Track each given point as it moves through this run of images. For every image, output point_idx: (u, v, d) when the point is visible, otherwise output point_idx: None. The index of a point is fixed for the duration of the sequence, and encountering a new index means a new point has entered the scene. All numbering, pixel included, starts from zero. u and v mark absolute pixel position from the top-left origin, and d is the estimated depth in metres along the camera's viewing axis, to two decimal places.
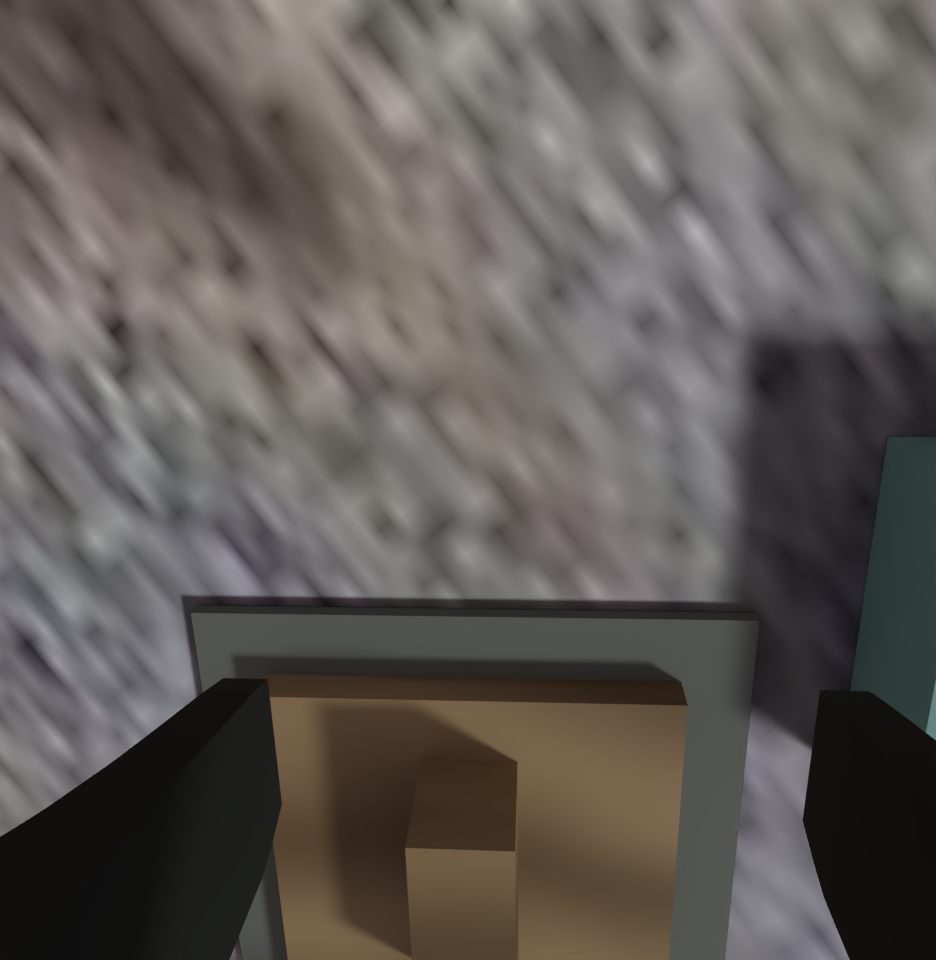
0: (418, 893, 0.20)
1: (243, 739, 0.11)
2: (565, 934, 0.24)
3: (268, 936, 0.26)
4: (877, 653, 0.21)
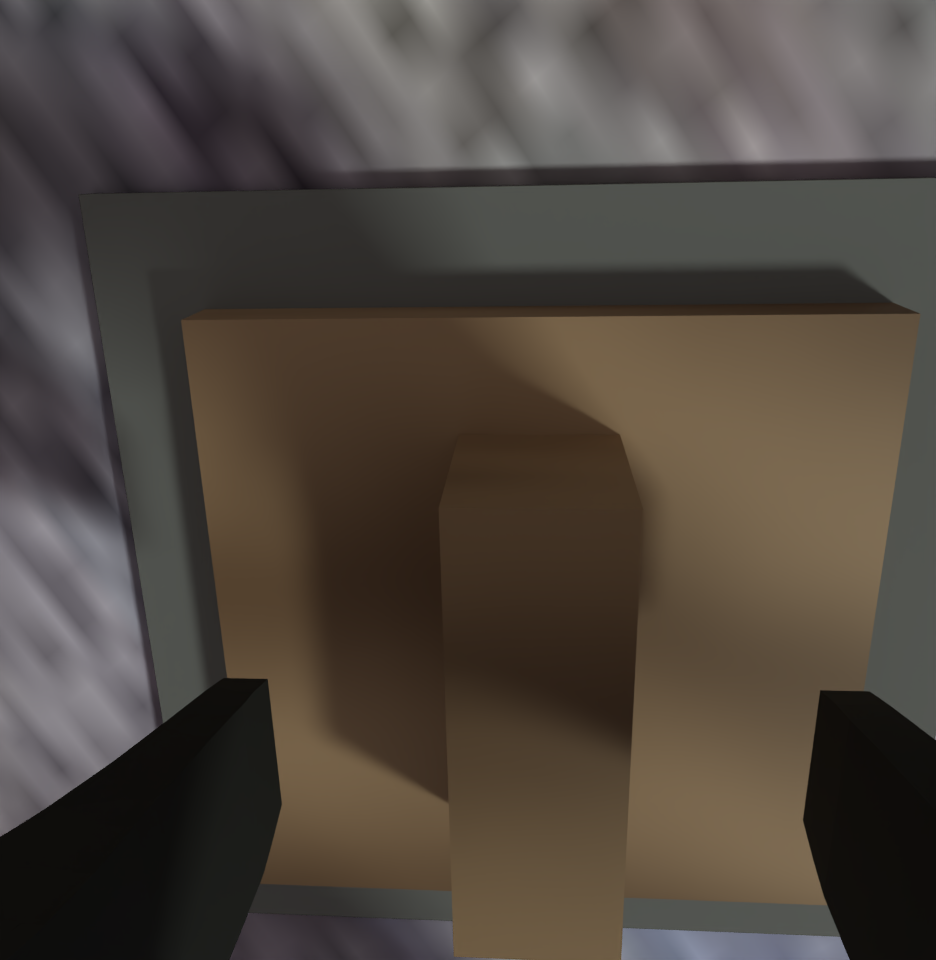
0: (461, 604, 0.11)
1: (243, 739, 0.11)
2: (683, 752, 0.15)
3: None
4: None
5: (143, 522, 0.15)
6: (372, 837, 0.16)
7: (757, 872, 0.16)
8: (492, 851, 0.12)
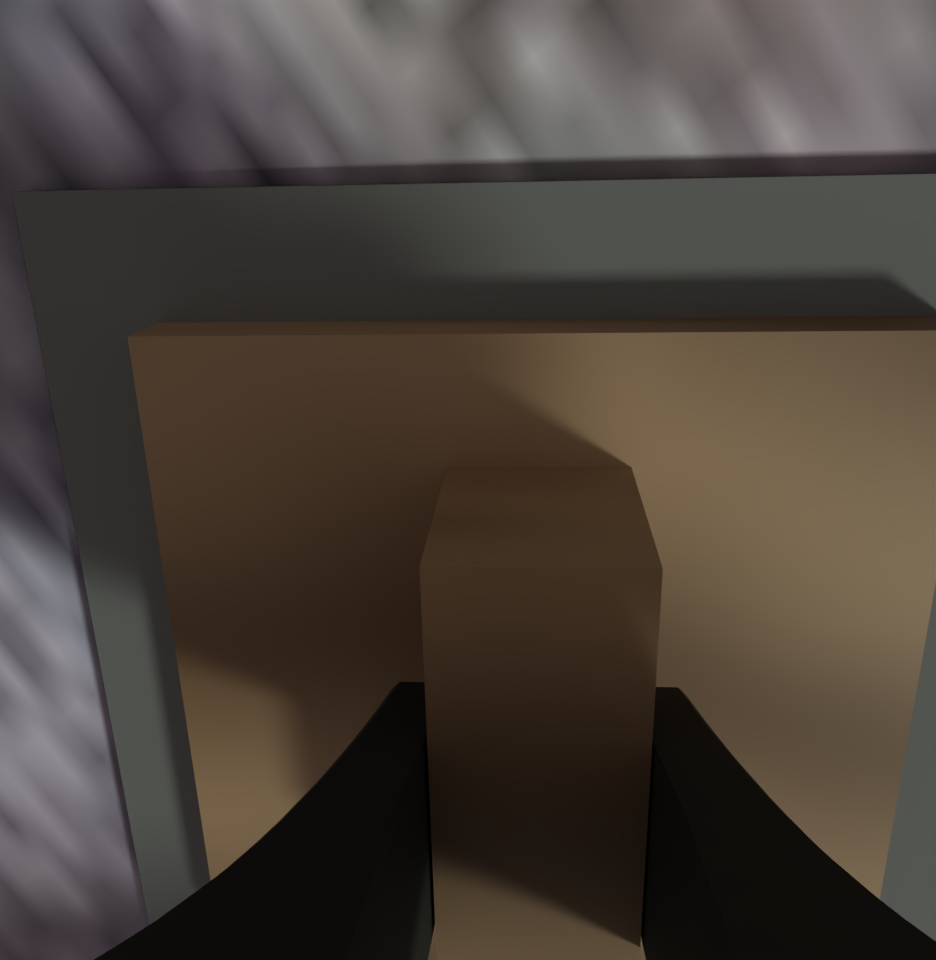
0: (447, 676, 0.09)
1: None
2: None
3: (182, 837, 0.15)
4: None
5: (94, 560, 0.14)
6: None
7: None
8: (484, 951, 0.11)
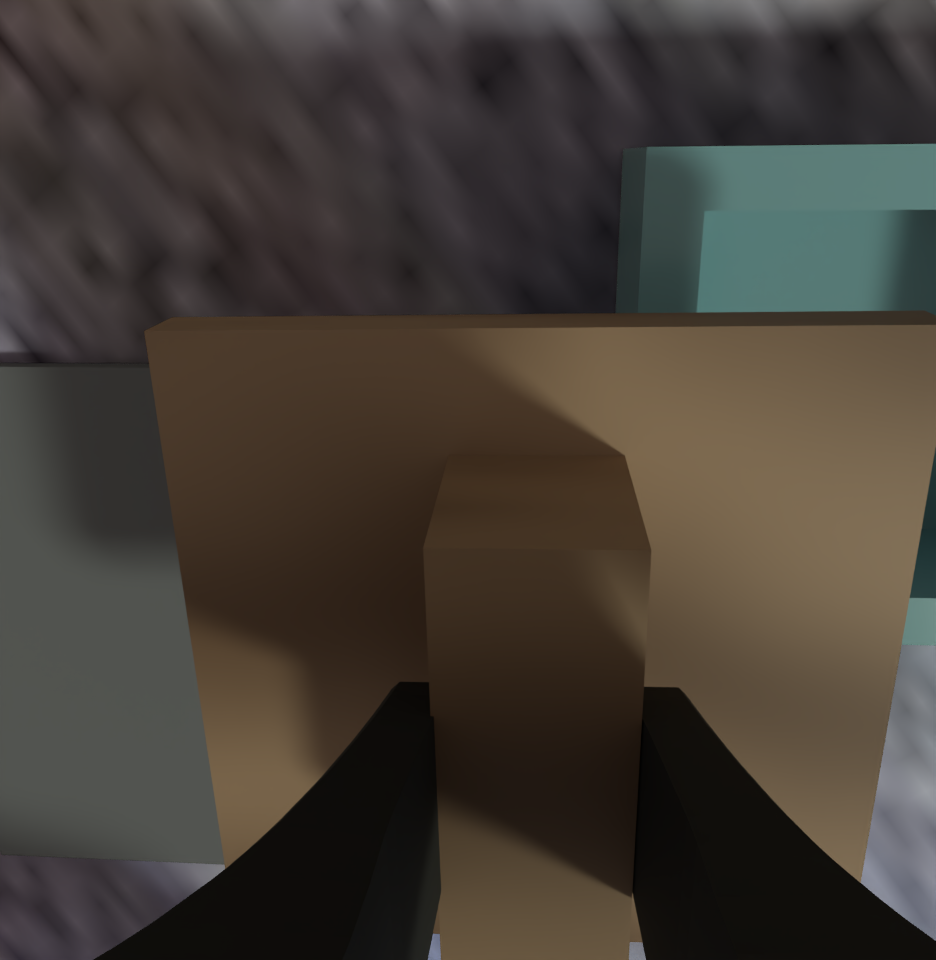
0: (449, 652, 0.10)
1: None
2: None
3: (10, 757, 0.24)
4: None
5: None
6: None
7: None
8: (484, 912, 0.11)
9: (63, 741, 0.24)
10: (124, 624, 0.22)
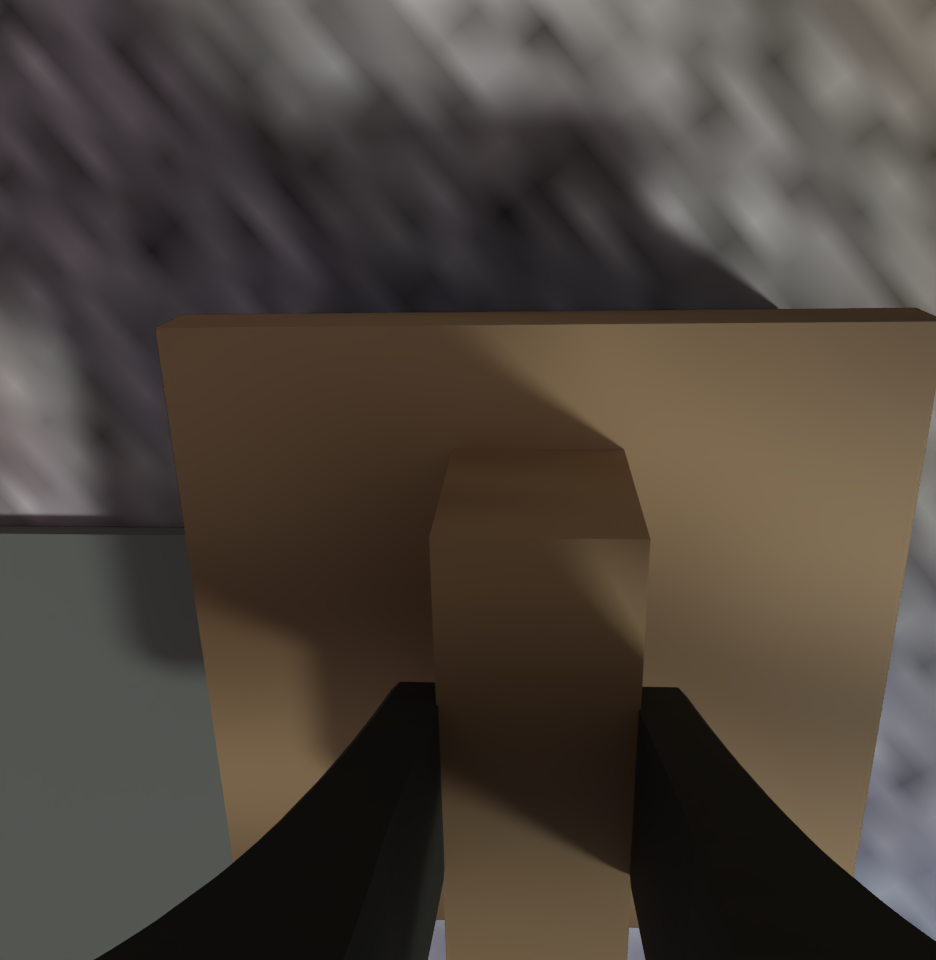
0: (454, 638, 0.10)
1: (436, 744, 0.11)
2: None
3: None
4: None
5: None
6: None
7: None
8: (488, 894, 0.12)
9: None
10: None
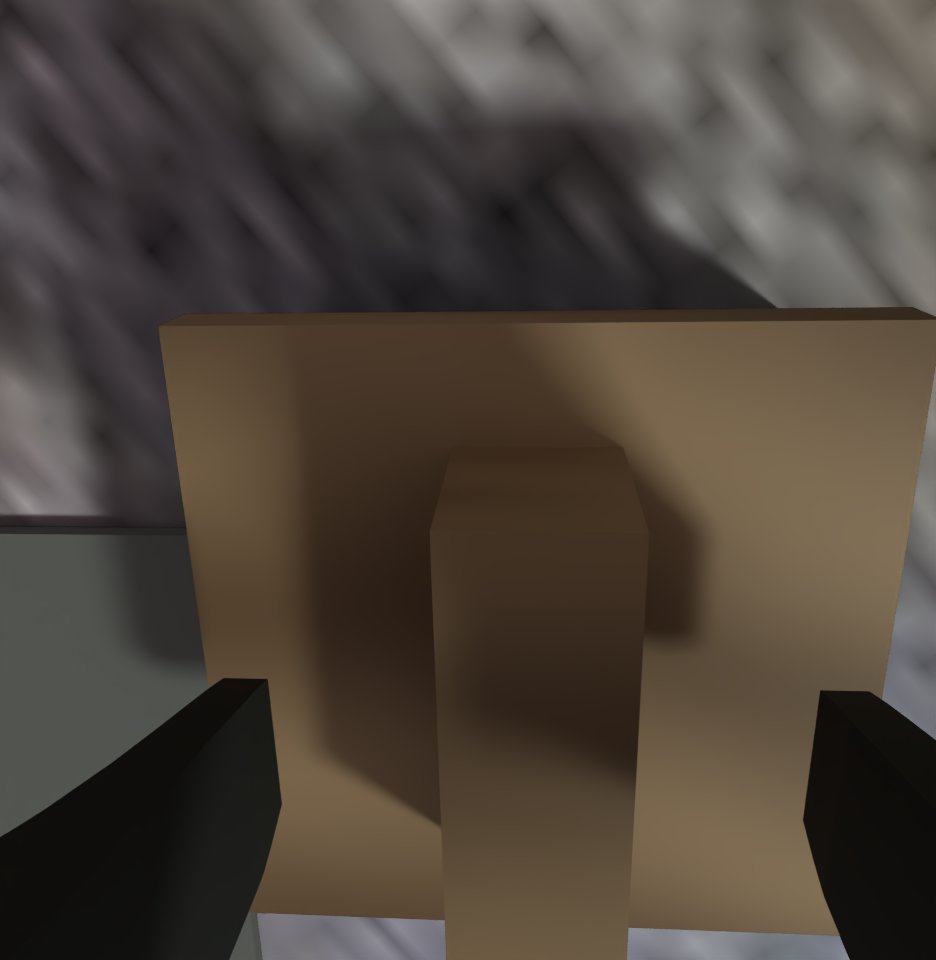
0: (454, 632, 0.10)
1: (243, 739, 0.11)
2: (689, 777, 0.14)
3: None
4: None
5: None
6: (363, 864, 0.15)
7: (766, 901, 0.15)
8: (488, 890, 0.12)
9: None
10: None
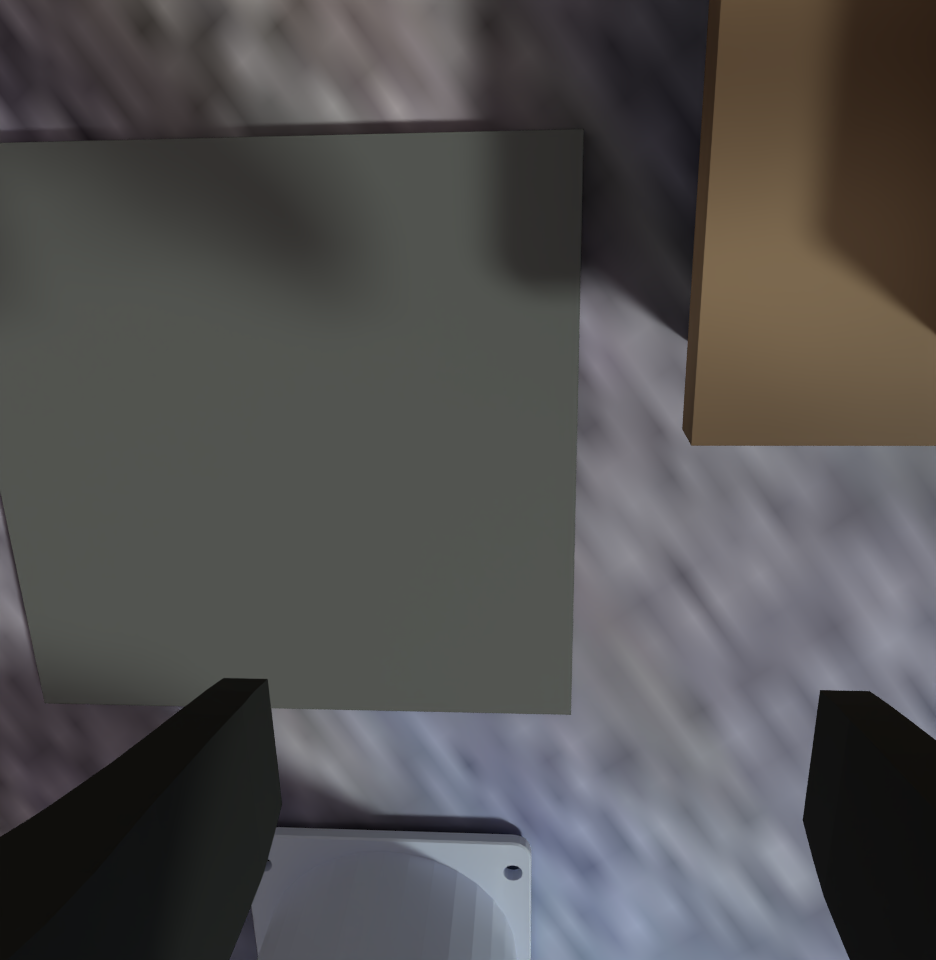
0: None
1: (243, 739, 0.11)
2: None
3: (55, 592, 0.23)
4: None
5: None
6: (834, 379, 0.15)
7: None
8: None
9: (111, 572, 0.22)
10: (177, 436, 0.21)
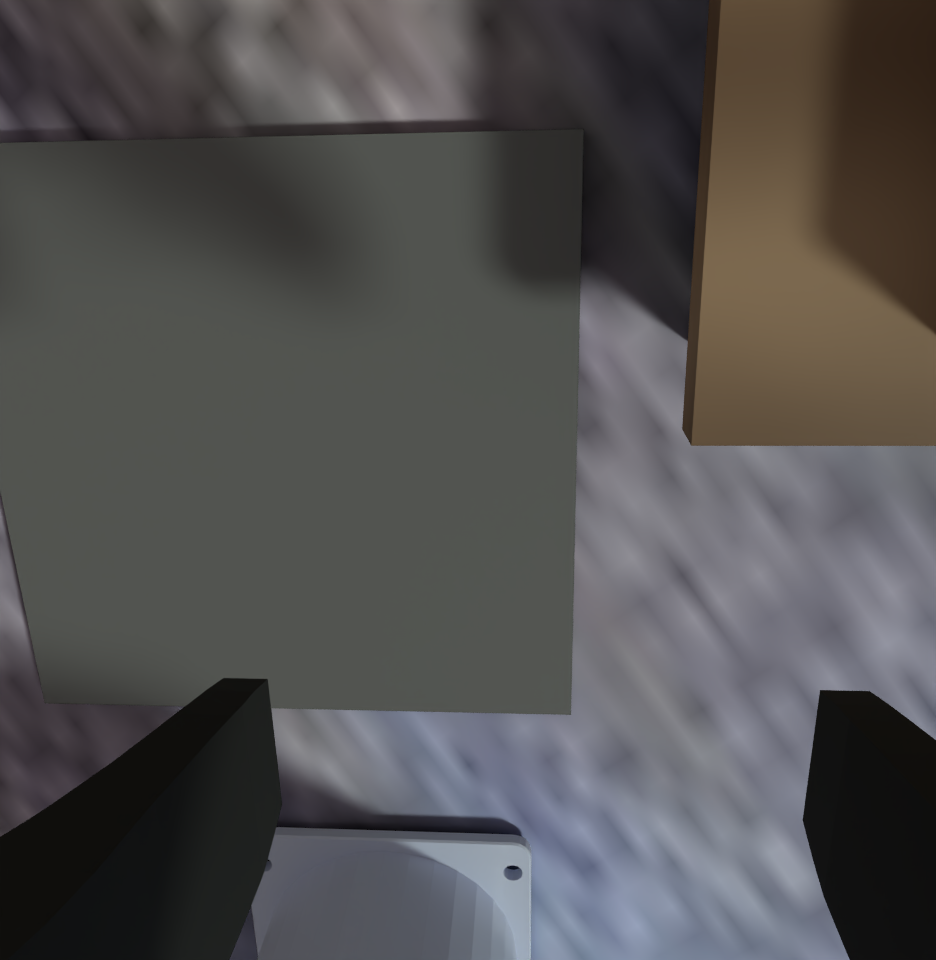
0: None
1: (243, 739, 0.11)
2: None
3: (55, 592, 0.23)
4: None
5: None
6: (834, 379, 0.15)
7: None
8: None
9: (111, 572, 0.22)
10: (177, 436, 0.21)
